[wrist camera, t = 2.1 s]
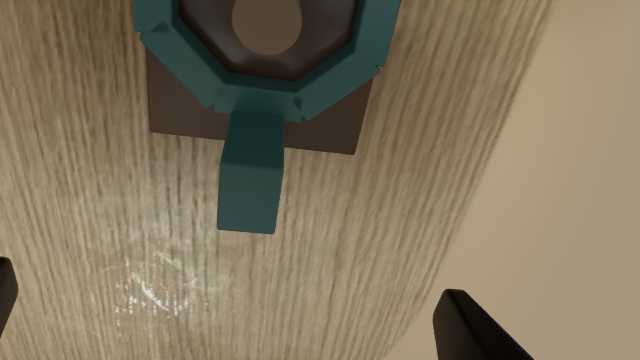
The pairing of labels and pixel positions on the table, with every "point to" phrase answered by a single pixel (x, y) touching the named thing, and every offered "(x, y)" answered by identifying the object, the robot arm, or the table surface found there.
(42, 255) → the table surface
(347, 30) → the peg rack
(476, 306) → the robot arm
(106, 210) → the table surface
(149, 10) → the ring teal
